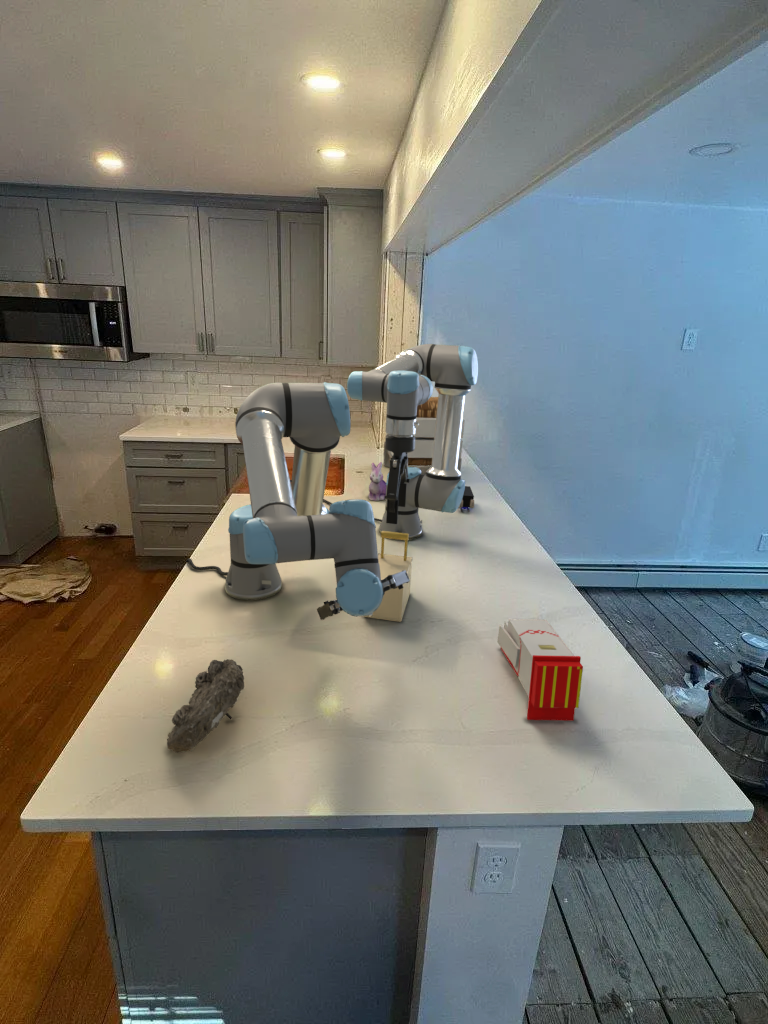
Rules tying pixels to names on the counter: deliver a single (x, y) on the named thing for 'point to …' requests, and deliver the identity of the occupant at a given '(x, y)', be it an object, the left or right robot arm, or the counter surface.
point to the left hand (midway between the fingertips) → (364, 595)
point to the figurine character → (467, 499)
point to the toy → (542, 668)
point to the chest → (393, 603)
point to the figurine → (377, 483)
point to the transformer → (424, 437)
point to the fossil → (206, 705)
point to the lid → (393, 556)
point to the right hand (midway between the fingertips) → (396, 514)
